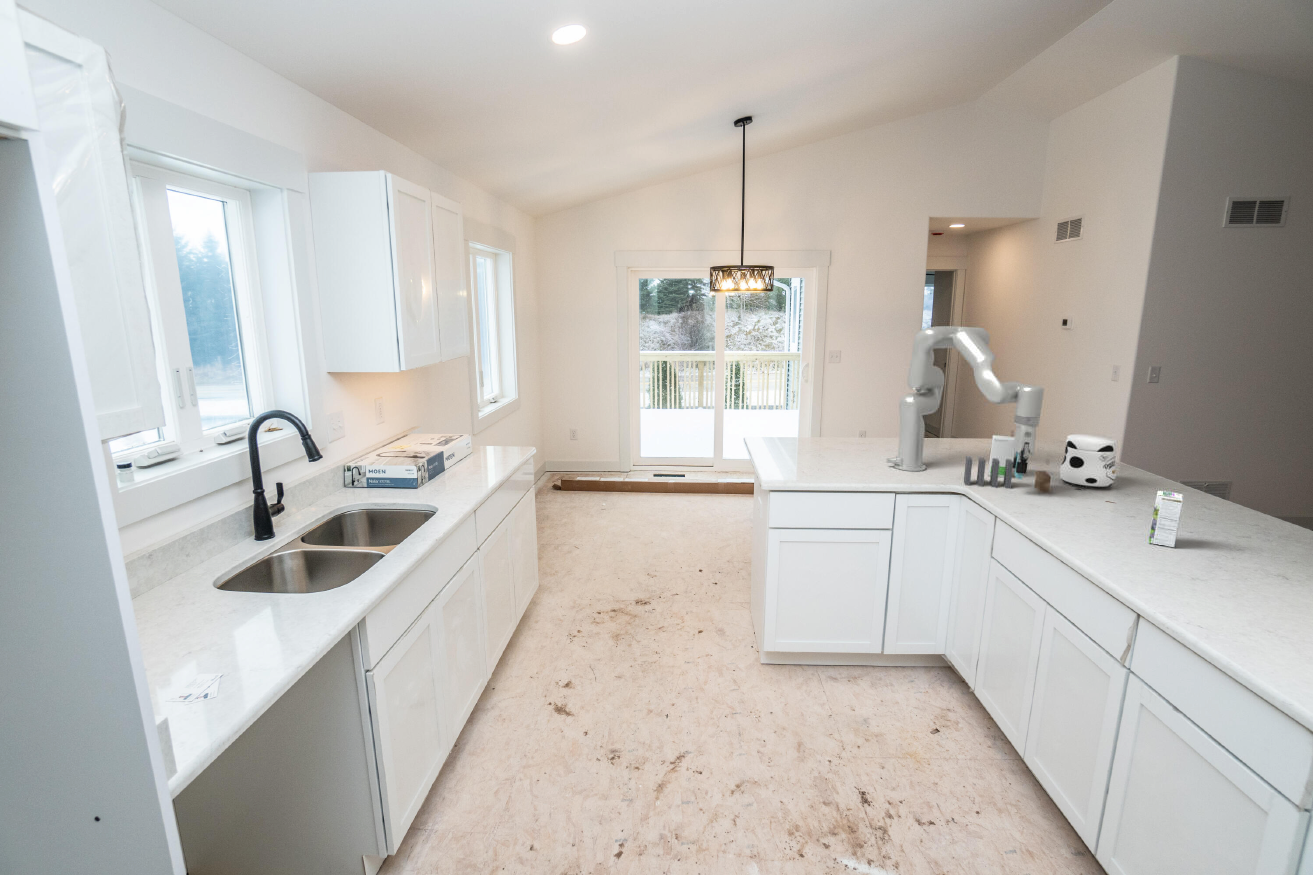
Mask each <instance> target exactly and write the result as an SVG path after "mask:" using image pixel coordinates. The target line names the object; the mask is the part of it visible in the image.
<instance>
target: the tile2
mask: <svg viewBox="0 0 1313 875" xmlns="http://www.w3.org/2000/svg"><path fill="white" fill-rule="evenodd" d="M986 463H987V461H986V459H985V457H981V456H980V457H978V464H977V475H976V484H977V486H978V487H984V482H985V473H986V472H985V471H986V470H985V469H986Z"/></svg>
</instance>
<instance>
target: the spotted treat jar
mask: <svg viewBox="0 0 1313 875" xmlns="http://www.w3.org/2000/svg"><path fill="white" fill-rule="evenodd" d="M1064 448H1065V450H1064V457H1063V459H1062V461H1061V462H1062V463H1061V464H1060V467H1059V476H1060V479H1061V480H1062V481H1063V482H1064V483H1066V484H1069V485H1072V486H1076V487H1081V488H1087V489H1089V488H1090V489H1104V488H1105V489H1106V488H1109V487H1111V486H1113V485H1114V483H1115V482H1116V478H1117V470H1116V457H1117V449H1118V440H1117V439H1116V438H1114V437H1110V436H1105V435H1099V434H1098V435H1096V434H1084V433H1083V434H1081V433H1079V434H1069V435H1067V437H1066V441H1065V447H1064Z"/></svg>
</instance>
